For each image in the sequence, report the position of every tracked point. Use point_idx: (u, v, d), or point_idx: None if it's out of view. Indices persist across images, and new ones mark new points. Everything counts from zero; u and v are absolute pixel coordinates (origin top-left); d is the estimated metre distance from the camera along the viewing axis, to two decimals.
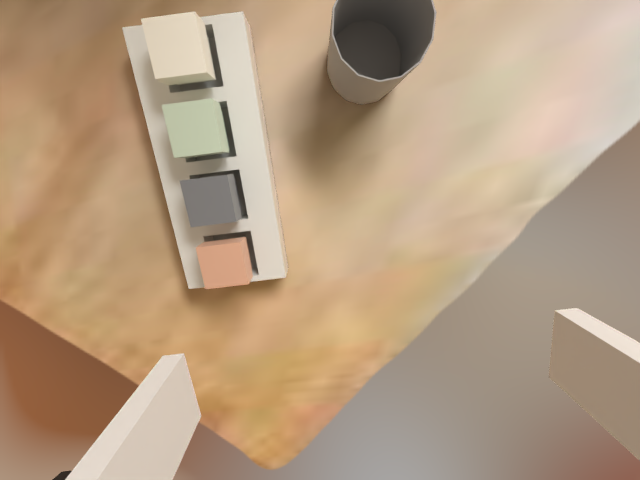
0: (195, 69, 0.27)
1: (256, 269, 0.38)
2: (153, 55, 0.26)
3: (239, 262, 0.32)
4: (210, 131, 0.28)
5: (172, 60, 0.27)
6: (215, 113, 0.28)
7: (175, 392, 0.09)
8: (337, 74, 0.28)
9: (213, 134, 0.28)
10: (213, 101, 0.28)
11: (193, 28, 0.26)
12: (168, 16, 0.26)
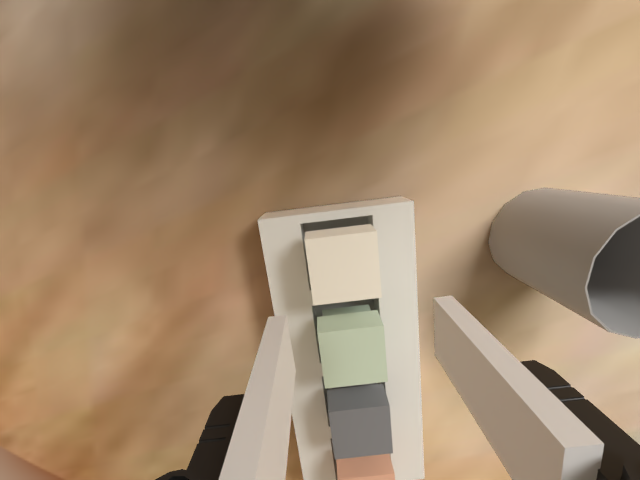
0: (367, 294, 0.20)
1: None
2: (315, 280, 0.20)
3: None
4: (376, 360, 0.22)
5: (339, 285, 0.20)
6: (384, 338, 0.22)
7: (286, 344, 0.11)
8: (539, 286, 0.22)
9: (379, 363, 0.22)
10: None
11: (371, 249, 0.20)
12: (339, 235, 0.19)
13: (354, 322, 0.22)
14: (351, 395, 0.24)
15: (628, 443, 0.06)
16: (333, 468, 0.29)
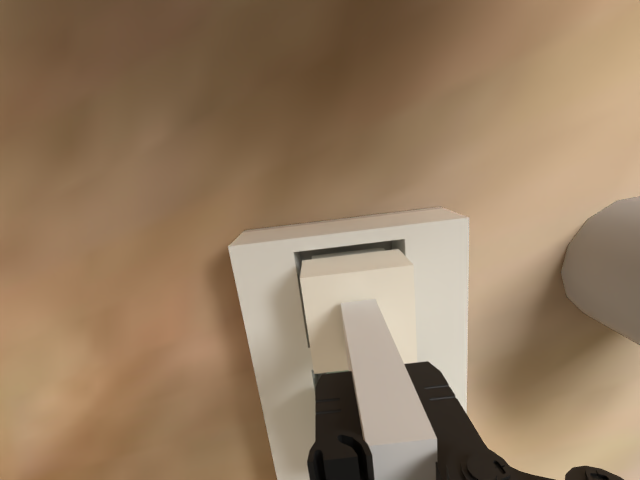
0: None
1: None
2: (316, 337, 0.13)
3: None
4: None
5: None
6: None
7: None
8: None
9: None
10: None
11: (404, 293, 0.13)
12: (355, 270, 0.12)
13: None
14: None
15: (472, 438, 0.07)
16: None
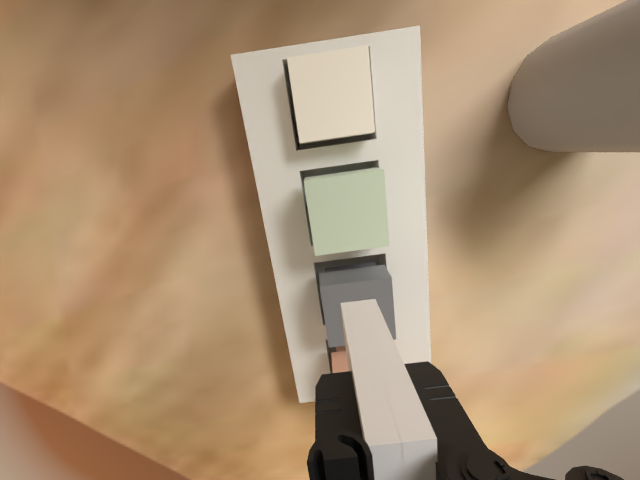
0: (359, 128, 0.18)
1: None
2: (300, 110, 0.18)
3: None
4: (375, 217, 0.18)
5: (327, 116, 0.18)
6: (384, 190, 0.18)
7: None
8: (573, 124, 0.18)
9: (379, 222, 0.18)
10: None
11: (363, 70, 0.17)
12: (326, 52, 0.17)
13: (348, 173, 0.18)
14: (347, 274, 0.21)
15: (472, 438, 0.07)
16: None
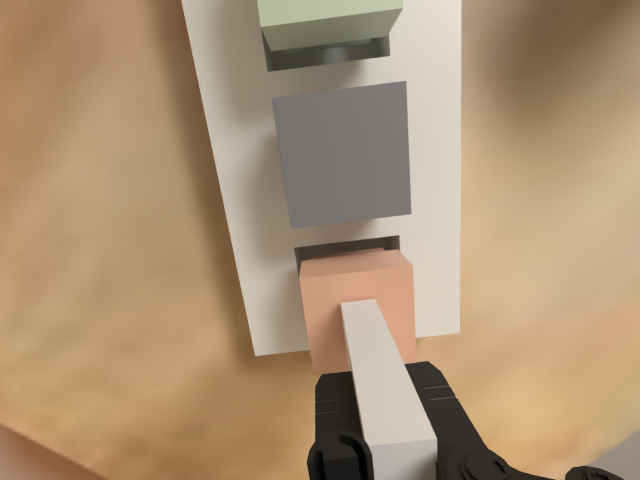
0: None
1: None
2: None
3: (402, 313, 0.13)
4: None
5: None
6: None
7: None
8: None
9: None
10: None
11: None
12: None
13: None
14: None
15: (472, 438, 0.07)
16: (301, 310, 0.17)
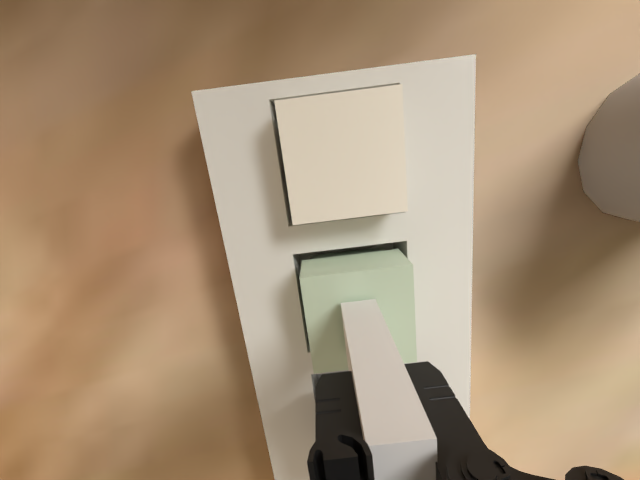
0: (383, 205, 0.12)
1: None
2: (294, 178, 0.12)
3: None
4: (398, 326, 0.13)
5: (335, 188, 0.12)
6: (412, 289, 0.13)
7: None
8: None
9: (403, 331, 0.13)
10: None
11: (392, 121, 0.11)
12: (336, 93, 0.11)
13: (362, 263, 0.13)
14: None
15: (472, 439, 0.07)
16: None
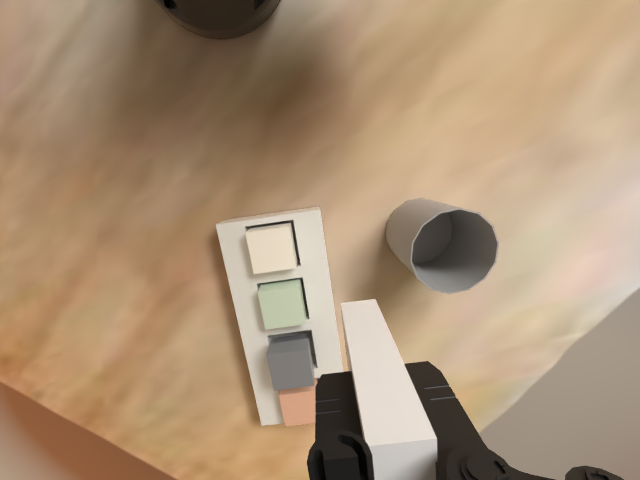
0: (286, 266, 0.33)
1: None
2: (253, 257, 0.33)
3: None
4: (296, 309, 0.34)
5: (268, 260, 0.33)
6: (301, 295, 0.34)
7: None
8: None
9: (298, 312, 0.34)
10: (299, 287, 0.34)
11: (287, 238, 0.32)
12: (267, 229, 0.32)
13: (282, 285, 0.34)
14: (284, 345, 0.35)
15: (472, 439, 0.07)
16: None
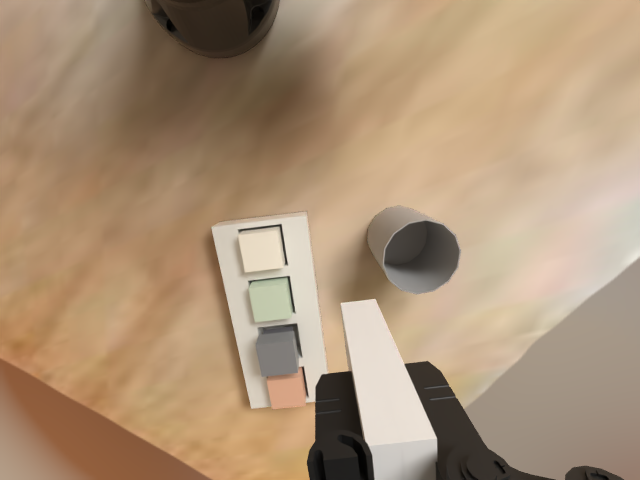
0: (275, 266, 0.36)
1: None
2: (245, 257, 0.36)
3: (299, 391, 0.41)
4: (283, 305, 0.38)
5: (258, 260, 0.36)
6: (287, 292, 0.38)
7: None
8: None
9: (285, 307, 0.38)
10: (286, 284, 0.37)
11: (275, 240, 0.36)
12: (257, 232, 0.35)
13: (271, 283, 0.38)
14: (272, 337, 0.39)
15: (472, 439, 0.07)
16: None
